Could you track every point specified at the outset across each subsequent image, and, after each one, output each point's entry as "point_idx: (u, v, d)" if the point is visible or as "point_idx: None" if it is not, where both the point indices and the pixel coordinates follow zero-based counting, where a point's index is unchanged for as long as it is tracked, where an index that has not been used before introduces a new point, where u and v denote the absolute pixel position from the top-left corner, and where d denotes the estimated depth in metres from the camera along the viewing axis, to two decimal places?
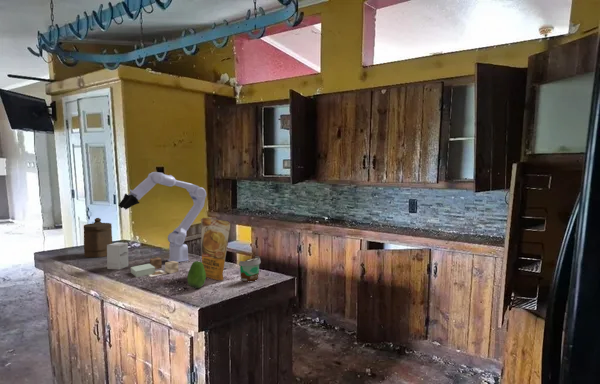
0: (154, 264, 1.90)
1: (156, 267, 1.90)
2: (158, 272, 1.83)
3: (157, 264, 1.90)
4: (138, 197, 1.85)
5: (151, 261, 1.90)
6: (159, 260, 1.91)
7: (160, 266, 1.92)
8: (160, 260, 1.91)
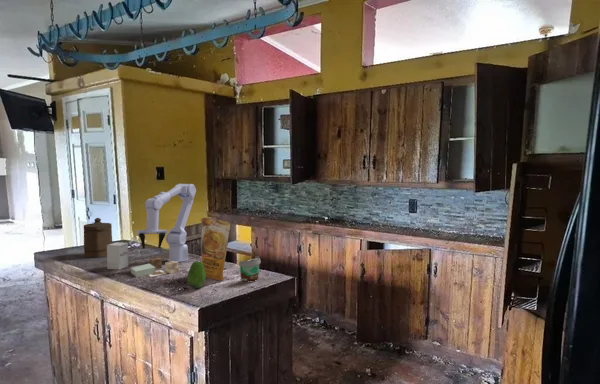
0: (154, 264, 1.90)
1: (156, 267, 1.90)
2: (158, 272, 1.83)
3: (157, 264, 1.90)
4: None
5: (151, 261, 1.90)
6: (159, 260, 1.91)
7: (160, 266, 1.92)
8: (160, 260, 1.91)
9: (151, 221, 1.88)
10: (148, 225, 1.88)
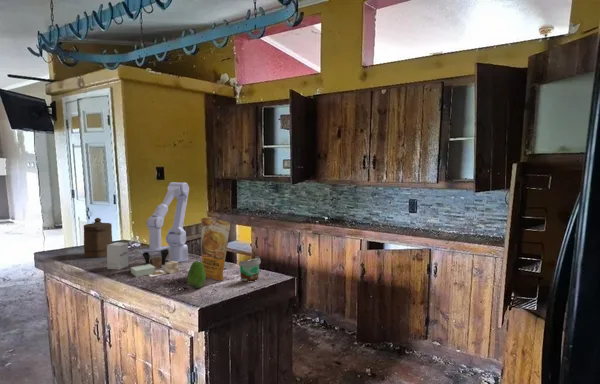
0: (154, 264, 1.90)
1: (156, 267, 1.90)
2: (158, 272, 1.83)
3: (157, 264, 1.90)
4: None
5: (151, 261, 1.90)
6: (159, 260, 1.91)
7: (160, 266, 1.92)
8: (160, 260, 1.91)
9: (154, 240, 1.89)
10: (152, 244, 1.89)
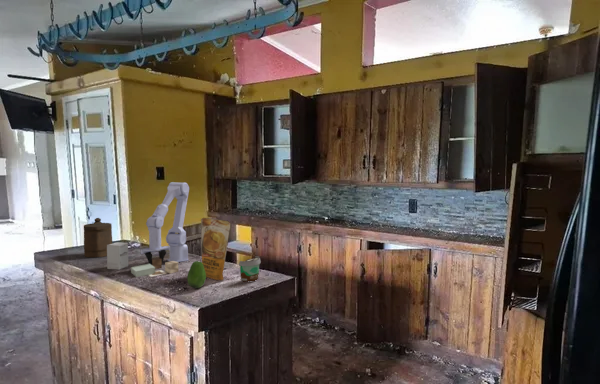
0: (154, 264, 1.90)
1: (156, 267, 1.90)
2: (158, 272, 1.83)
3: (157, 264, 1.90)
4: None
5: None
6: (159, 260, 1.91)
7: (160, 266, 1.92)
8: (160, 260, 1.91)
9: (154, 240, 1.89)
10: (152, 244, 1.89)
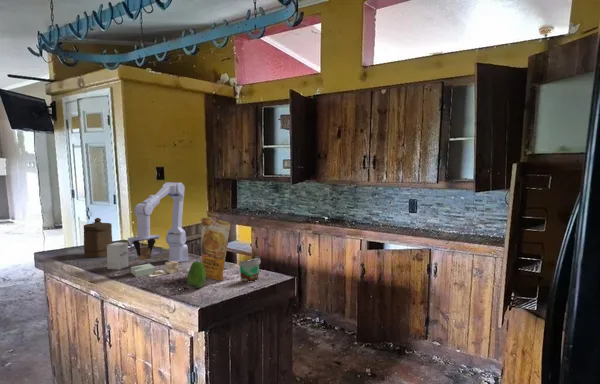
0: (142, 254, 1.80)
1: (144, 257, 1.81)
2: (158, 272, 1.83)
3: (145, 254, 1.81)
4: None
5: None
6: (148, 250, 1.82)
7: (149, 256, 1.82)
8: (149, 250, 1.82)
9: (142, 228, 1.79)
10: (140, 232, 1.80)
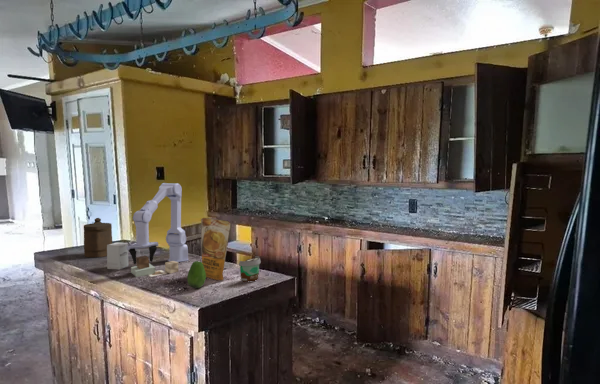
0: (141, 263, 1.80)
1: (143, 266, 1.80)
2: (158, 272, 1.83)
3: (144, 263, 1.80)
4: None
5: (137, 260, 1.80)
6: (146, 258, 1.81)
7: (147, 265, 1.82)
8: (147, 258, 1.81)
9: (141, 235, 1.79)
10: (138, 239, 1.79)
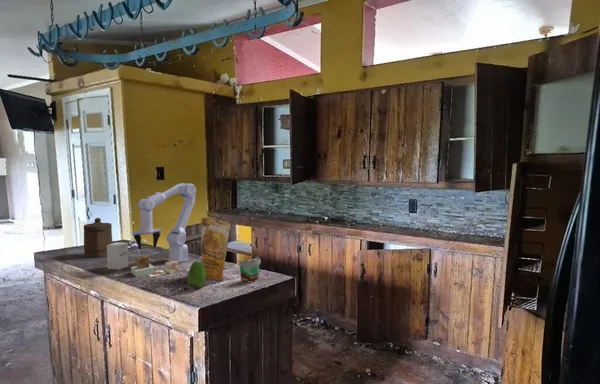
0: (141, 263, 1.80)
1: (143, 266, 1.80)
2: (158, 272, 1.83)
3: (144, 263, 1.80)
4: None
5: (138, 260, 1.80)
6: (146, 258, 1.81)
7: (147, 265, 1.82)
8: (147, 258, 1.81)
9: (143, 222, 1.89)
10: (143, 226, 1.90)
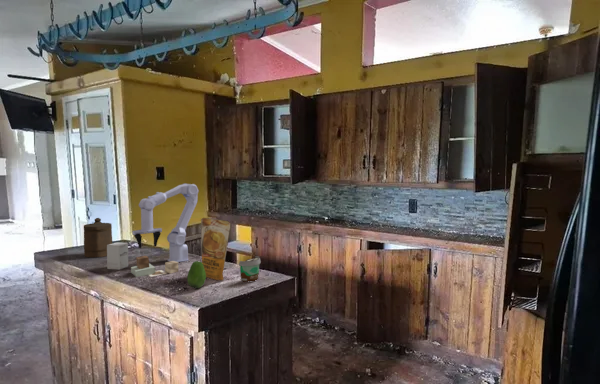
0: (141, 263, 1.80)
1: (143, 266, 1.80)
2: (158, 272, 1.83)
3: (144, 263, 1.80)
4: None
5: (138, 260, 1.80)
6: (146, 258, 1.81)
7: (147, 265, 1.82)
8: (147, 258, 1.81)
9: (144, 221, 1.91)
10: (143, 225, 1.91)
